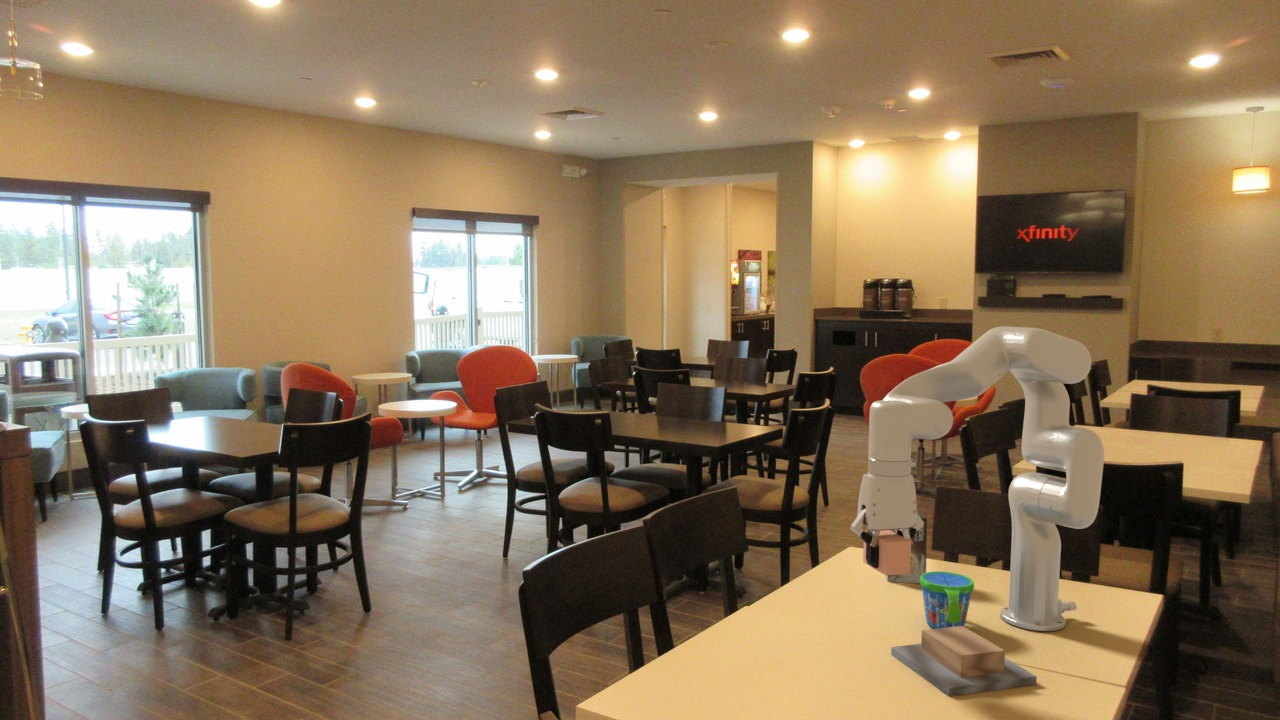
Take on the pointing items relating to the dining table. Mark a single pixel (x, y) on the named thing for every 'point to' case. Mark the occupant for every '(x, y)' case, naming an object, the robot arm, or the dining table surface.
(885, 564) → the brick
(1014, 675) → the base
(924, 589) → the snack cup
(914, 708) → the dining table surface
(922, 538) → the coffee box
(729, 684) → the dining table surface
